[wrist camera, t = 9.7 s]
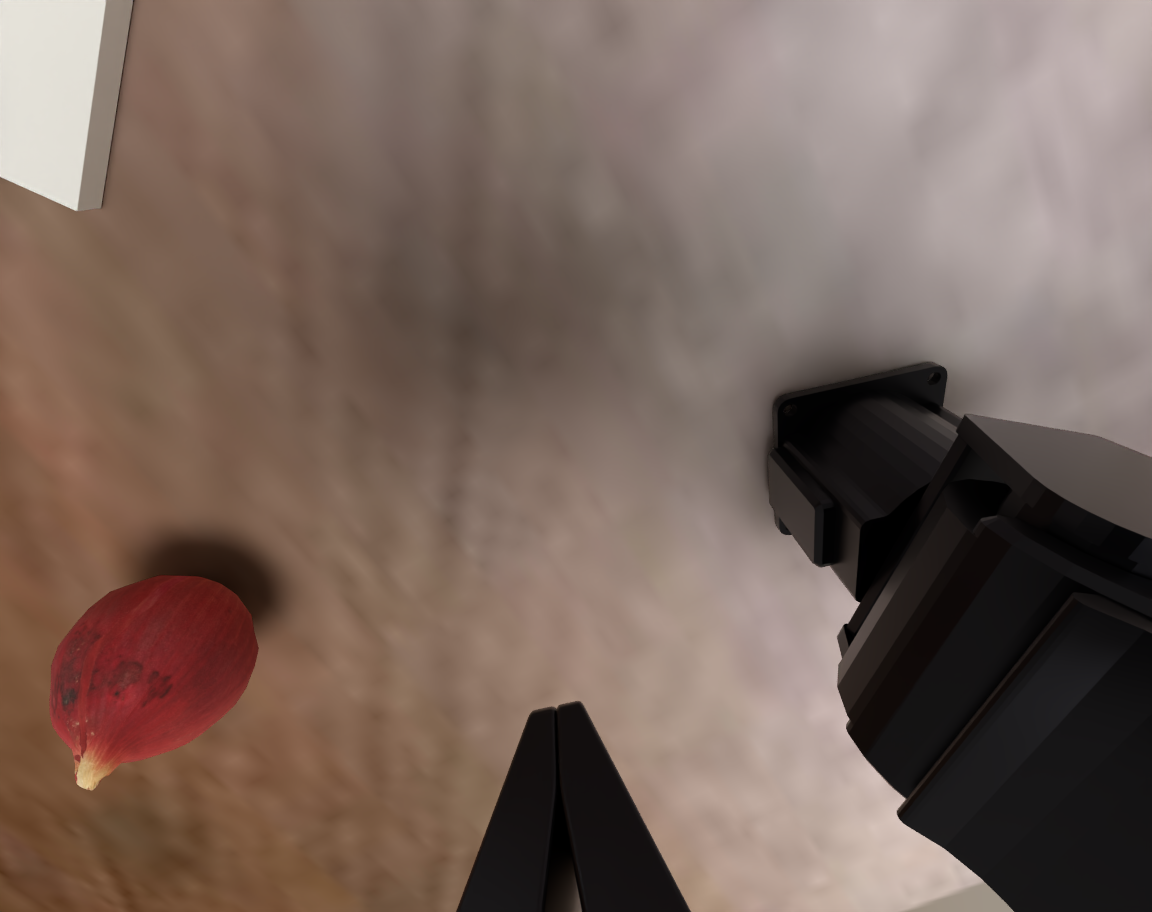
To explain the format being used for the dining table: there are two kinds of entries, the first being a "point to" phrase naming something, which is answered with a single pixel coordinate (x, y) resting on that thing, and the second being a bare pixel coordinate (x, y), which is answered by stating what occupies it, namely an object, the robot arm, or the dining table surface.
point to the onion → (149, 671)
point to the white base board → (60, 94)
